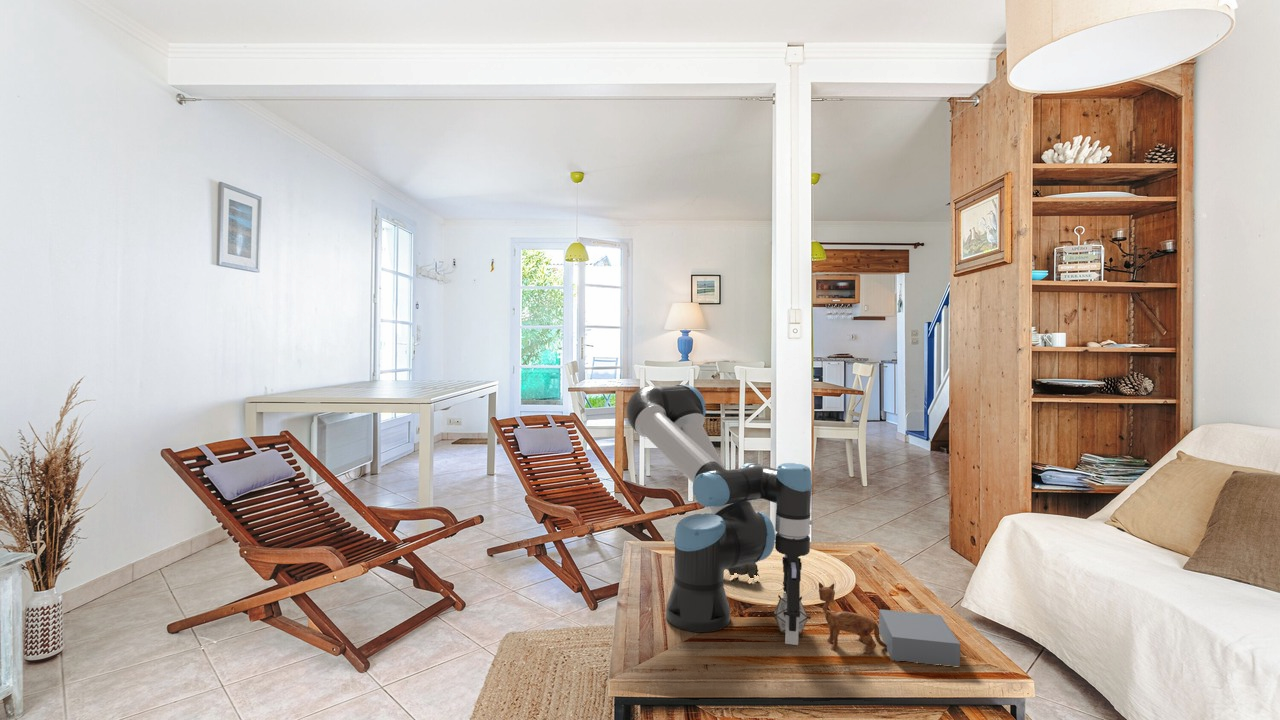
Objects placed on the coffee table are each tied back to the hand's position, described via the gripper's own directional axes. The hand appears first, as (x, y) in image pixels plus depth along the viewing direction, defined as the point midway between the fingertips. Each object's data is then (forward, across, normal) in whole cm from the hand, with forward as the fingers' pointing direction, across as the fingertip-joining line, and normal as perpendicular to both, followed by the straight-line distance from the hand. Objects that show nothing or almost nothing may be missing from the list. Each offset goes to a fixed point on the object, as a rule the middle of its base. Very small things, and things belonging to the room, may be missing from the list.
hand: (790, 632), depth 135 cm
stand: (0, -1, -26) cm, 27 cm away
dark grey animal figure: (+1, +28, +13) cm, 31 cm away
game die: (0, 0, 0) cm, 0 cm away
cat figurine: (+1, -3, -14) cm, 15 cm away
